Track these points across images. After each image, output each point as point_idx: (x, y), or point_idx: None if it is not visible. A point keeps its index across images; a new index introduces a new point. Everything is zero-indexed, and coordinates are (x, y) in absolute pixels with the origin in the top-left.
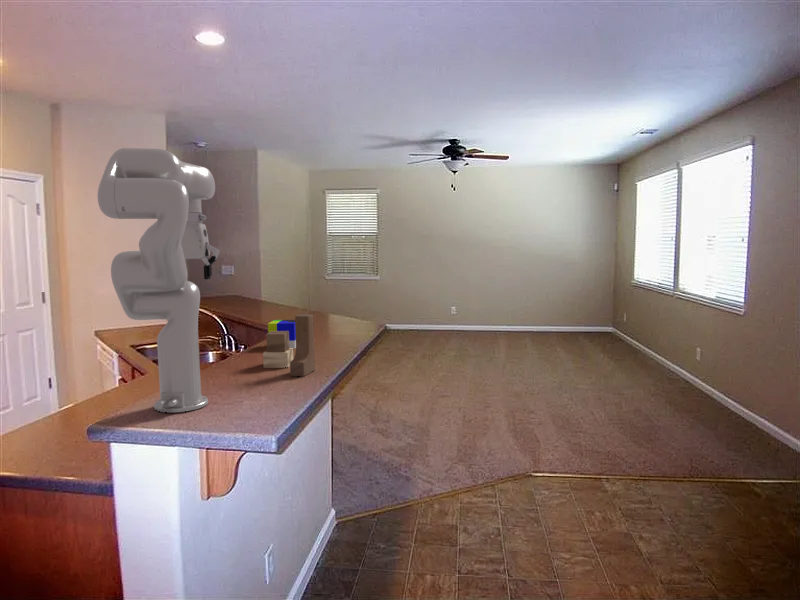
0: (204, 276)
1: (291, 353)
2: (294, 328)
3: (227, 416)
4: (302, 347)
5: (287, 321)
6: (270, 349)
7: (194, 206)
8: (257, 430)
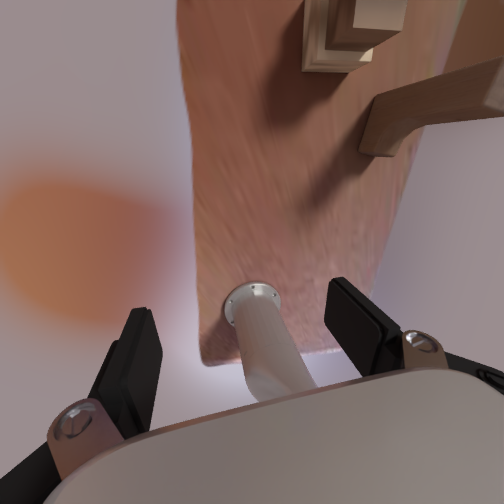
0: (332, 331)
1: None
2: None
3: (310, 322)
4: (416, 122)
5: None
6: (337, 47)
7: None
8: None
